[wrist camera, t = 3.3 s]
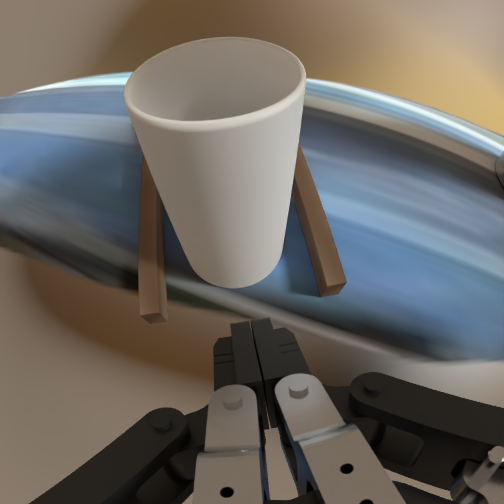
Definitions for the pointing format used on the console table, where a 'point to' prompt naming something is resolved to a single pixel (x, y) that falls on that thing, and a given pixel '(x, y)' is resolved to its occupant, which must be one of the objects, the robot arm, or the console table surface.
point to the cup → (222, 149)
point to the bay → (153, 241)
